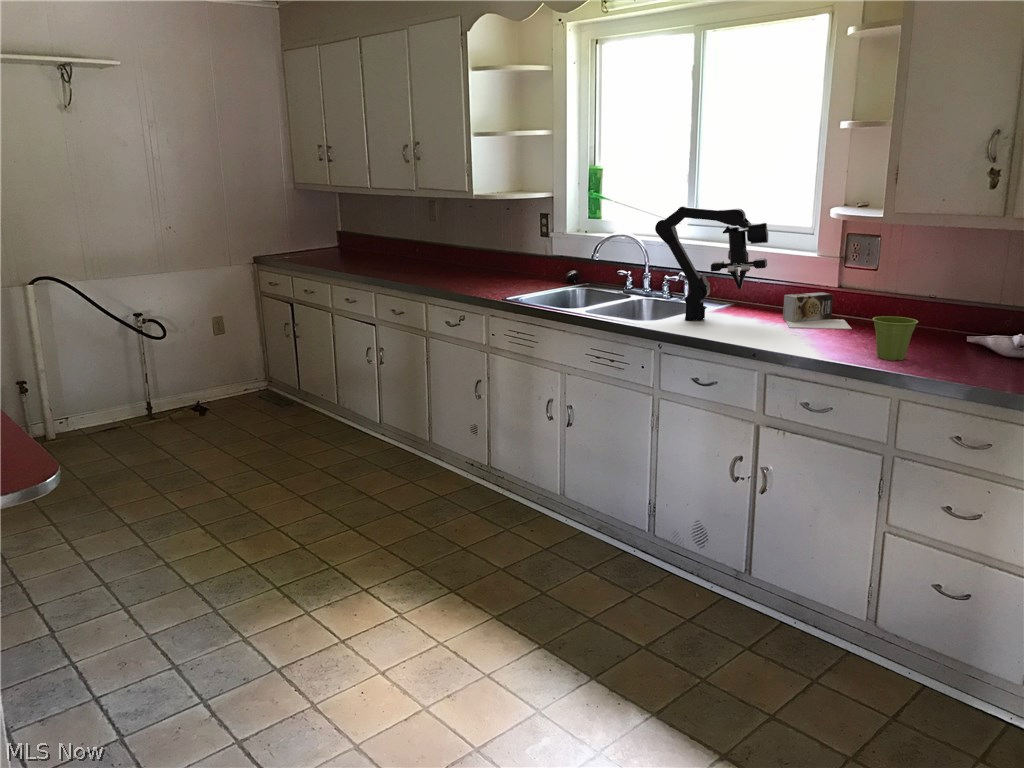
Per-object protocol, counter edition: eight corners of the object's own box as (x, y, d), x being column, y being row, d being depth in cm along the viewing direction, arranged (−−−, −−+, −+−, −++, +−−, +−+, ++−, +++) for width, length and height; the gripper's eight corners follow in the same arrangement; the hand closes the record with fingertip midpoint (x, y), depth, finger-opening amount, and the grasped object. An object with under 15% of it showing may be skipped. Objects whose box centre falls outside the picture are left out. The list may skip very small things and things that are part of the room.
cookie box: (794, 297, 284) (833, 293, 288) (783, 294, 290) (822, 291, 294) (793, 322, 286) (832, 319, 290) (782, 320, 292) (820, 316, 296)
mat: (789, 328, 278) (789, 327, 278) (784, 319, 294) (785, 318, 293) (851, 329, 274) (851, 328, 274) (843, 320, 289) (843, 319, 289)
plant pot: (917, 363, 227) (922, 324, 224) (871, 362, 230) (875, 322, 227) (909, 354, 238) (914, 316, 235) (866, 352, 241) (869, 315, 238)
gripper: (768, 240, 289) (770, 283, 292) (714, 244, 296) (717, 286, 300) (764, 244, 279) (766, 289, 283) (709, 248, 287) (711, 292, 290)
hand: (740, 289), depth 289 cm, fingers closed
